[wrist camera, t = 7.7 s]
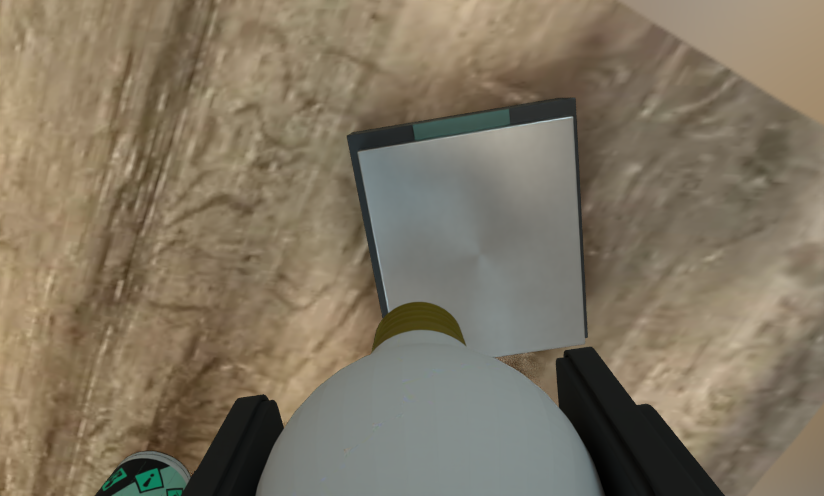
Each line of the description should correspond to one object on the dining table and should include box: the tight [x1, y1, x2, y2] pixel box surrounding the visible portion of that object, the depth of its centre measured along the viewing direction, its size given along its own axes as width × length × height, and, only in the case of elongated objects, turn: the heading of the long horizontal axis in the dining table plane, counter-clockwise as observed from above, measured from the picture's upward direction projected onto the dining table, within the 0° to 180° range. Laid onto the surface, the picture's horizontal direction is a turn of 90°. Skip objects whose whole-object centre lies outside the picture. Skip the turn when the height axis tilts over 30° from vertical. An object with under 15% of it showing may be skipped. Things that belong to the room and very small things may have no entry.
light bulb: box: [256, 302, 606, 496], centre depth 10 cm, size 6×6×10 cm
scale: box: [347, 98, 588, 358], centre depth 27 cm, size 14×12×4 cm
